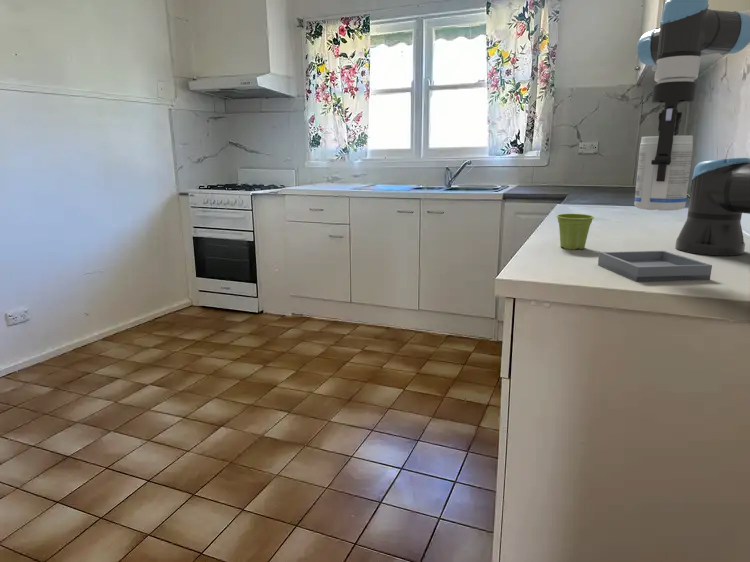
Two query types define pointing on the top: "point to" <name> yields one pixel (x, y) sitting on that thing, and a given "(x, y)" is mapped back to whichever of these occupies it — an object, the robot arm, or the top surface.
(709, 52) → the robot arm
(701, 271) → the tray
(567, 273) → the top surface
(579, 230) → the plant pot
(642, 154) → the supplement tub
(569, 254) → the top surface
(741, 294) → the top surface
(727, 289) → the top surface
